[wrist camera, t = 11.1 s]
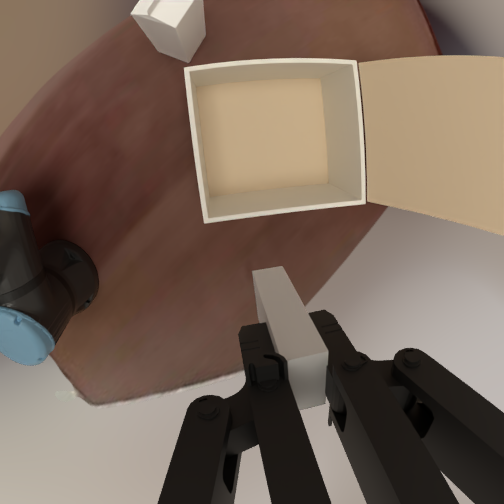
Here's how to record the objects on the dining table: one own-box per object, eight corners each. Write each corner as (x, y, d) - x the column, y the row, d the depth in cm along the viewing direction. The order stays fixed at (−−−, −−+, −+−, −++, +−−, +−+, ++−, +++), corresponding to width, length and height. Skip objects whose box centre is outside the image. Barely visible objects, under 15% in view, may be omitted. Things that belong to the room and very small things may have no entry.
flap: (511, 238, 24) (511, 236, 24) (511, 57, 17) (512, 59, 17) (367, 201, 40) (369, 200, 40) (358, 63, 33) (361, 63, 33)
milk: (206, 35, 41) (203, -24, 21) (188, 64, 43) (173, 19, 23) (174, 23, 40) (153, -38, 19) (156, 52, 41) (122, 4, 21)
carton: (206, 200, 52) (204, 223, 39) (192, 84, 44) (183, 67, 31) (330, 185, 53) (365, 203, 41) (322, 75, 46) (356, 60, 33)
